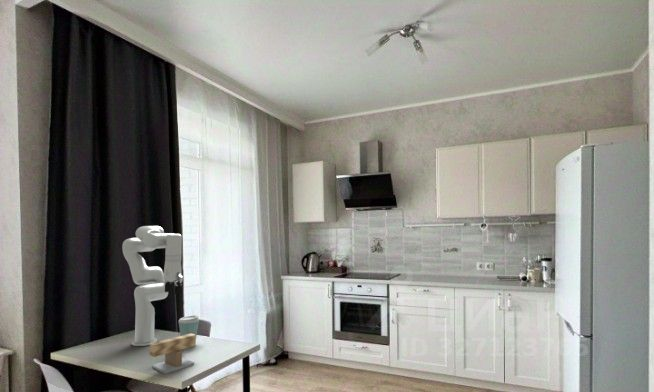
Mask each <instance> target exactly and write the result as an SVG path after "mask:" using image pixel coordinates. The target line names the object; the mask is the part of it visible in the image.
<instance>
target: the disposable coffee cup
mask: <svg viewBox="0 0 654 392" xmlns="http://www.w3.org/2000/svg"><path fill="white" fill-rule="evenodd" d="M199 321H200V318H199V315H197V314H196V315H188V316H184V317H180V318H179V320H178V328H179V329H178V330H179V334H180V335H179V336H183V335H187V334H191V333H192V334H195V335H196V337H197V336H198V329H199Z"/></svg>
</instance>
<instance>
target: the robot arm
mask: <svg viewBox="0 0 654 392" xmlns="http://www.w3.org/2000/svg"><path fill="white" fill-rule="evenodd" d="M182 240H183V237H182V235H181V234H180V233H174V232H173V233H172V232H171V233H170V232H169V233H168V232H167V233H166V232H165V231H164V229H163V227H161V226H159V225H143V226H140V227H138V228H136V231H135V237H130V238H127V239H124V241H123V242H122V246H121V247H122V254H123V257H124V259H125V260H126V261H127V264H128V266H129V271H130V274H131V277H132V281H133V283H134V284H135V285H138V286H136V287H135V288H134V292H133V296H134V302H135V318H134V319H135V320H134V322H135V324H134V328H135V329H134V340H132V341H131V346H133V347H146V346H150V343H154V342H158V339H157V337H155V315H156V312H155V307H154V306H153V304H152V303H151V302H153V301H154V302H155V301H161V300H165V299H166V298H167V297H168V295H169V293H170V292H172V283H174V293H173V294H174V295H181V294H182V285H183V281H184V277H183V275H182V244H183V241H182ZM156 249H165V258H164V259H165V261H164V267H163V268H164V269H162V268H161V267H160V266H157V265H156V266H155V265H154V266H148V265H147V263H146V260H145V259H144V257H143V256H142V255H141V254H139V253H144V252H145V253H146V252H153V251H154V250H156Z"/></svg>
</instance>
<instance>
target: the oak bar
mask: <svg viewBox="0 0 654 392" xmlns="http://www.w3.org/2000/svg"><path fill="white" fill-rule="evenodd" d="M196 340H197V336H196V335H195V334H192V333H191V334H187V335H183V336H180V335H179V336H175V337H171V338H167V339H163V340H159V341H158V340H157V342H154V343H150V345H149V356H150V357H153V358H156V357H159V356H163V355H165V354H167V353H171V352H174V351H178V350H179V351H182V350H184V349H189V348H193V347H195V346H196V343H197V342H196Z"/></svg>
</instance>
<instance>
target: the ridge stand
mask: <svg viewBox="0 0 654 392" xmlns="http://www.w3.org/2000/svg"><path fill="white" fill-rule="evenodd" d="M164 356H165V357H164V361H162V362H157V363H155V364H154V363H153V364H152V365H151V368H152V369H154V370H157V371H159V372H160V373H162V374H165V375H166V374H169V373H172V372H175V371H179V370H181V369H185V368H189V367H191V366H195V362H194V361H193V360H190V359H187V358H186V357H183V351H182V350H178V351H174V352H171V353H167V354H164Z"/></svg>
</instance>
